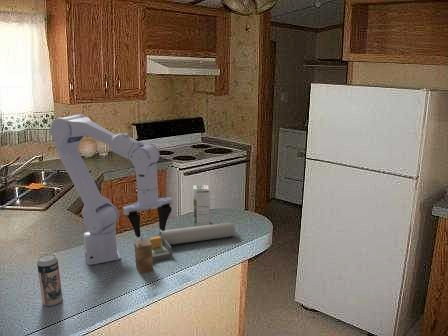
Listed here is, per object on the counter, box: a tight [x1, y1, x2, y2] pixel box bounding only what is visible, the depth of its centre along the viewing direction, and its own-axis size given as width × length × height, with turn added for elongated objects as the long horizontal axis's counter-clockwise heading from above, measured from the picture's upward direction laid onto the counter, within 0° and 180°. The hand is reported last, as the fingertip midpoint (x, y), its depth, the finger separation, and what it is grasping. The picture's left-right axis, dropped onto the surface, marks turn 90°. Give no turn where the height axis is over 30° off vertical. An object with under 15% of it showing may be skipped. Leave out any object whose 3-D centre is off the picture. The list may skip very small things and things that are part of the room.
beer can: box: [36, 253, 64, 307], centre depth 105 cm, size 5×5×12 cm
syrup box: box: [192, 184, 211, 227], centre depth 152 cm, size 6×6×14 cm
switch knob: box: [149, 235, 161, 248], centre depth 132 cm, size 2×3×3 cm, turn 114°
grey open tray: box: [140, 233, 174, 262], centre depth 132 cm, size 12×7×4 cm, turn 24°
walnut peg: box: [133, 239, 154, 274], centre depth 121 cm, size 4×4×8 cm
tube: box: [158, 221, 236, 246], centre depth 140 cm, size 5×5×25 cm
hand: (150, 232), depth 122 cm, fingers open, 7 cm apart
